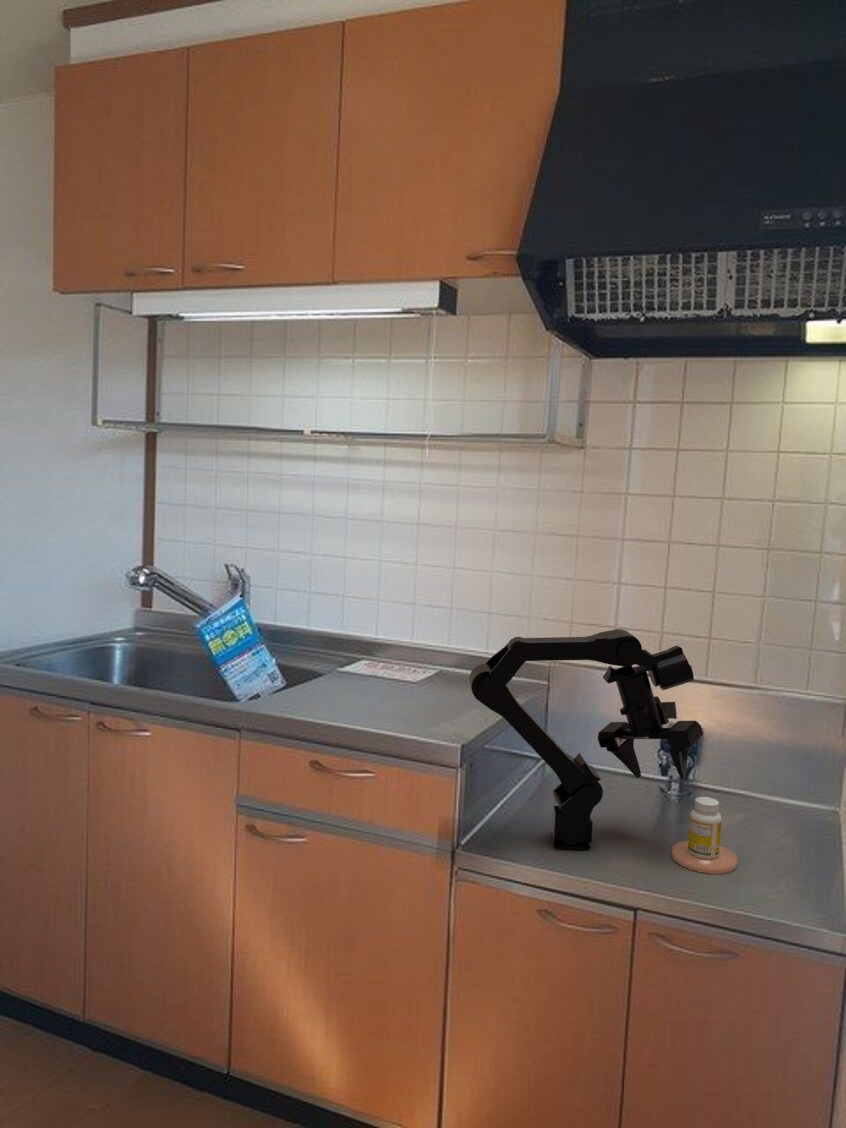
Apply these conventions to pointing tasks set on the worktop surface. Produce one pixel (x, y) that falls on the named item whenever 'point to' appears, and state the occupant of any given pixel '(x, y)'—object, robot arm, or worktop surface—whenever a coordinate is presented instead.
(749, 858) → the worktop surface
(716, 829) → the supplement bottle
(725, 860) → the saucer
